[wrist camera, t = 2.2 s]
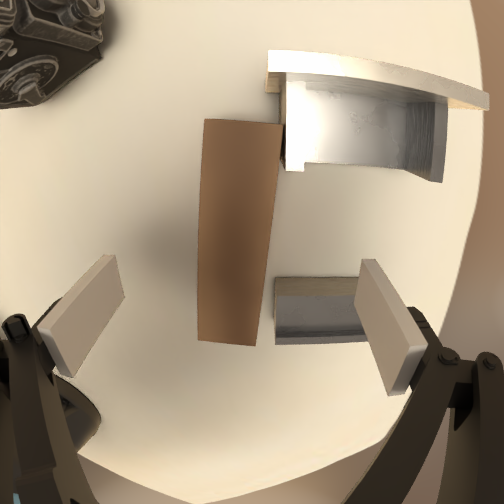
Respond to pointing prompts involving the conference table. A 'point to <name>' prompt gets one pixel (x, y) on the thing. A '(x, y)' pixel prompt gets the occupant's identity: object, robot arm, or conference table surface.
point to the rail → (235, 226)
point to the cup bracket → (364, 112)
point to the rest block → (316, 311)
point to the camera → (45, 46)
